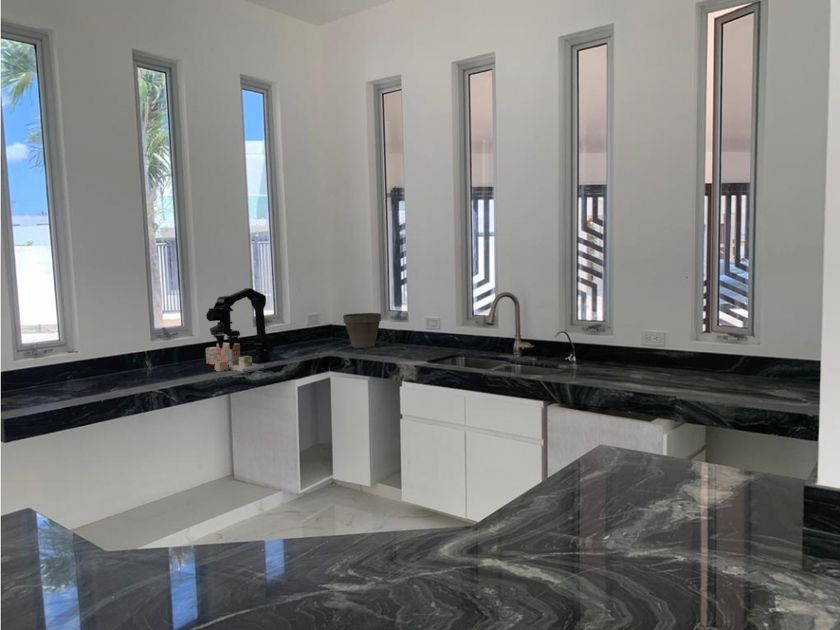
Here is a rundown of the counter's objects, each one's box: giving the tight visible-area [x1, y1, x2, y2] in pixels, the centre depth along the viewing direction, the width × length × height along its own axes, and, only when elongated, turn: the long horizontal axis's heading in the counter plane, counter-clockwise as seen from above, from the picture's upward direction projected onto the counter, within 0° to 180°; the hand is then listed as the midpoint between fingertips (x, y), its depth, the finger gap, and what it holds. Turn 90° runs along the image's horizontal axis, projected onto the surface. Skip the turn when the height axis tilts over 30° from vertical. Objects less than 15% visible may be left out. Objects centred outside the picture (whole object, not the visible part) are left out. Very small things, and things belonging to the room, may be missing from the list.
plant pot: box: [343, 312, 382, 349], centre depth 438 cm, size 25×25×22 cm
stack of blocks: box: [205, 342, 241, 366], centre depth 383 cm, size 21×6×12 cm, turn 60°
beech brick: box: [239, 355, 253, 367], centre depth 365 cm, size 5×5×5 cm
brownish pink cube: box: [213, 361, 229, 372], centre depth 361 cm, size 5×5×5 cm
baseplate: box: [228, 362, 265, 373], centre depth 365 cm, size 14×14×2 cm
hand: (225, 348), depth 361 cm, fingers open, 9 cm apart
